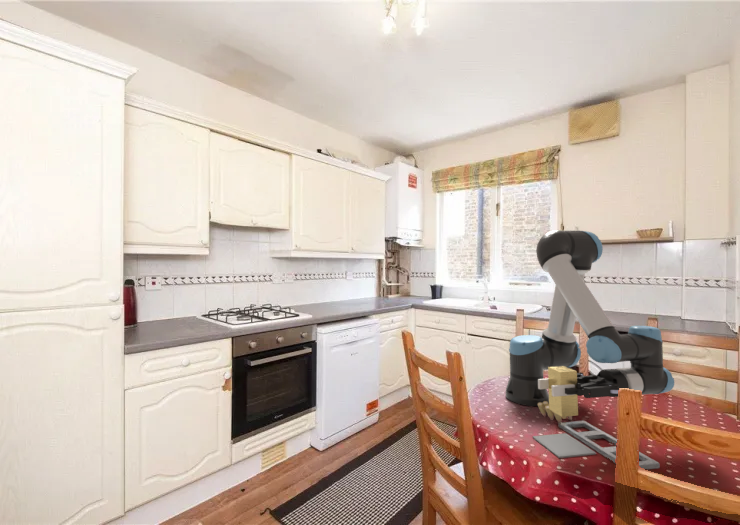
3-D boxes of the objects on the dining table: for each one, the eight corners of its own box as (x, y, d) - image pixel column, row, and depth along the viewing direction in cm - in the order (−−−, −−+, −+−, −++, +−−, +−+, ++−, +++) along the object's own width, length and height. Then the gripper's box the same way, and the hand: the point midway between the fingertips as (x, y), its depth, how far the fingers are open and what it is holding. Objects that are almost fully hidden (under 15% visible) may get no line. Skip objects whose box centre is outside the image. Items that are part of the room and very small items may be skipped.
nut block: (549, 409, 97) (548, 367, 97) (564, 408, 97) (563, 366, 98) (561, 416, 92) (560, 372, 92) (578, 415, 93) (576, 371, 93)
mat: (532, 437, 99) (532, 436, 99) (566, 434, 101) (566, 433, 101) (559, 458, 88) (559, 456, 88) (596, 454, 90) (596, 452, 90)
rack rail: (558, 426, 106) (558, 422, 106) (583, 424, 107) (583, 420, 108) (628, 471, 82) (628, 466, 82) (659, 467, 84) (659, 463, 84)
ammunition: (556, 410, 107) (573, 406, 110) (536, 402, 114) (552, 398, 117) (556, 425, 107) (573, 421, 110) (536, 416, 114) (553, 412, 117)
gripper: (649, 407, 89) (570, 414, 85) (593, 385, 106) (526, 390, 103) (648, 378, 89) (569, 384, 85) (592, 361, 107) (525, 365, 103)
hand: (545, 387), depth 94 cm, fingers closed on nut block, 5 cm apart
